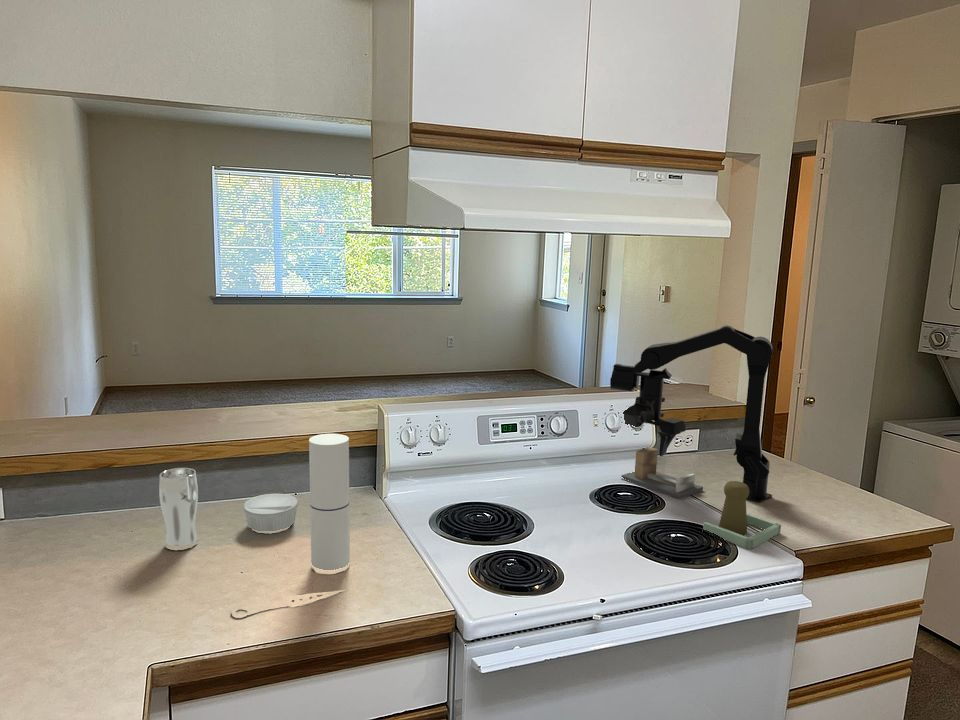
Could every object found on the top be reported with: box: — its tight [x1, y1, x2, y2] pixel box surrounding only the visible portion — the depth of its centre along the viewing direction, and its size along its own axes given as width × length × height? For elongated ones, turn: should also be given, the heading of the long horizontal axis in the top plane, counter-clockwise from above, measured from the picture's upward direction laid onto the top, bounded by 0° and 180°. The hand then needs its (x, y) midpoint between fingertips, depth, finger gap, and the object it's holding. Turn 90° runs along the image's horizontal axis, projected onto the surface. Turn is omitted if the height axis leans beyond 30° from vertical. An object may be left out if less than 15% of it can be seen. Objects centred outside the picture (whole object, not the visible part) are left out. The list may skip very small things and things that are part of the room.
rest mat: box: [621, 471, 704, 500], centre depth 181 cm, size 10×18×1 cm, turn 41°
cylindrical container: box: [308, 433, 351, 570], centre depth 130 cm, size 7×7×25 cm
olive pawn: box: [718, 480, 749, 536], centre depth 153 cm, size 6×6×11 cm
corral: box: [702, 512, 782, 550], centre depth 153 cm, size 13×11×2 cm
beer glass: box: [158, 467, 199, 546], centre depth 138 cm, size 7×7×15 cm
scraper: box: [634, 446, 696, 492], centre depth 180 cm, size 7×14×7 cm, turn 41°
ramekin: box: [243, 493, 299, 531], centre depth 149 cm, size 11×11×5 cm
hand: (646, 451), depth 183 cm, fingers open, 9 cm apart
